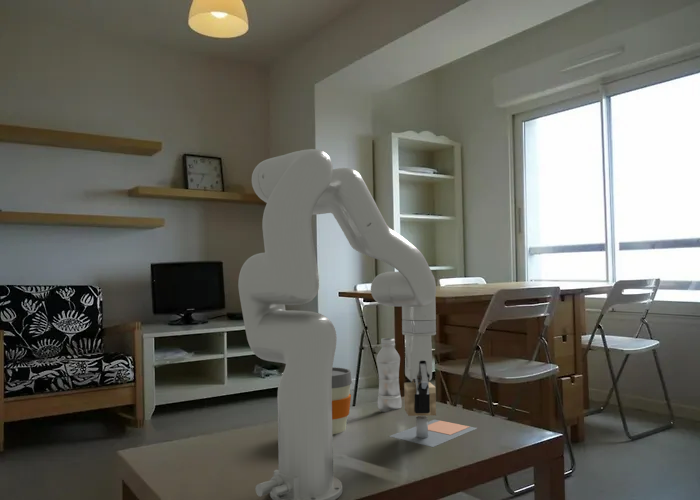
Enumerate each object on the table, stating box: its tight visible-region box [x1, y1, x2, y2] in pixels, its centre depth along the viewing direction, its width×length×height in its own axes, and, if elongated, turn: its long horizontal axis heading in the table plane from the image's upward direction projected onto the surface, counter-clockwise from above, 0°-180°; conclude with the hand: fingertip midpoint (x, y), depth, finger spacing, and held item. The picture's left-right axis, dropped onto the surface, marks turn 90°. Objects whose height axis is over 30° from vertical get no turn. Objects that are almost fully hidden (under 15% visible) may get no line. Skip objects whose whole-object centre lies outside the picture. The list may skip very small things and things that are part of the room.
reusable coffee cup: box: [332, 366, 353, 435], centre depth 129 cm, size 12×13×15 cm
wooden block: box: [403, 381, 437, 417], centre depth 121 cm, size 6×6×6 cm
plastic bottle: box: [376, 337, 403, 413], centre depth 149 cm, size 6×7×20 cm
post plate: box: [388, 416, 478, 448], centre depth 125 cm, size 18×12×6 cm, turn 136°
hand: (419, 408), depth 121 cm, fingers closed on wooden block, 6 cm apart
